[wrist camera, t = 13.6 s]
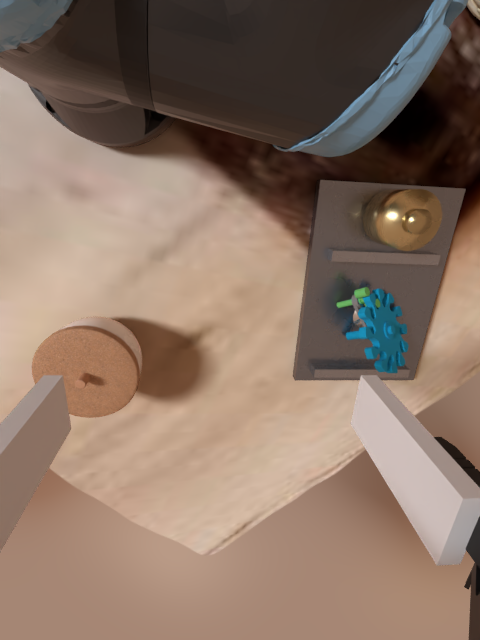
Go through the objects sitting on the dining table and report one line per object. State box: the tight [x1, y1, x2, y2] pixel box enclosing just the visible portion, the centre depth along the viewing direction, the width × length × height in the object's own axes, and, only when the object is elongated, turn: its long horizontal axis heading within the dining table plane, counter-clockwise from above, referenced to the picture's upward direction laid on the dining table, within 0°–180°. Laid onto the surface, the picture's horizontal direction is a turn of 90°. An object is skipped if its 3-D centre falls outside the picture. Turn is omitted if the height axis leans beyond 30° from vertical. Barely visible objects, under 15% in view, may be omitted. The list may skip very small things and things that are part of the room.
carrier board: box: [293, 180, 466, 380], centre depth 39 cm, size 25×17×7 cm
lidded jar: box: [32, 317, 142, 418], centre depth 38 cm, size 11×11×9 cm
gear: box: [337, 287, 409, 373], centre depth 40 cm, size 11×6×10 cm
